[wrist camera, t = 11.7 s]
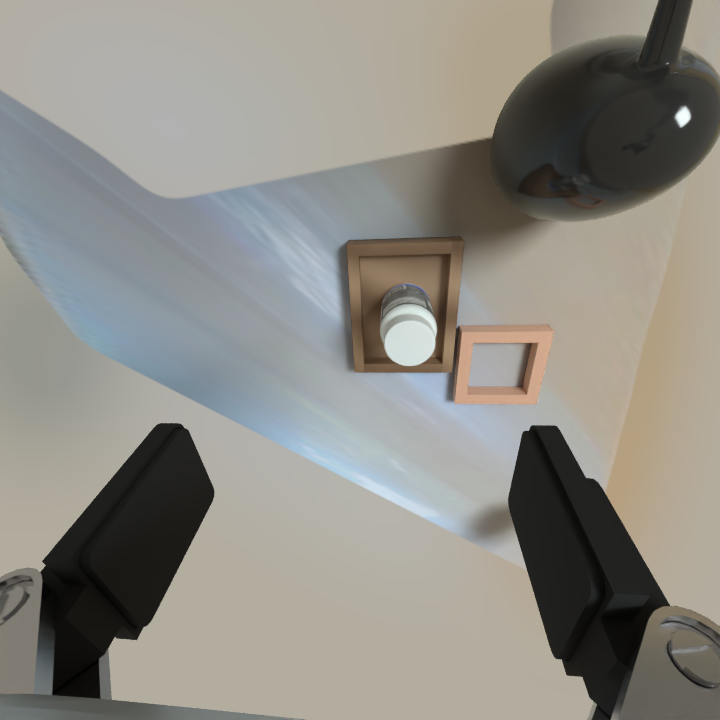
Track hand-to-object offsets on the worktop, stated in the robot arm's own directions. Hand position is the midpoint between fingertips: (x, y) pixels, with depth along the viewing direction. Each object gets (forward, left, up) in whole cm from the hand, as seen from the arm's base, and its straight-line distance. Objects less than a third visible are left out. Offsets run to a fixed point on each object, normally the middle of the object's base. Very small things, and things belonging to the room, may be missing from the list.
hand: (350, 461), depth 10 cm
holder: (+12, +12, -26) cm, 32 cm away
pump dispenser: (-8, +13, -27) cm, 31 cm away
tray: (+6, +2, -26) cm, 27 cm away
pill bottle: (+5, +3, -26) cm, 27 cm away
